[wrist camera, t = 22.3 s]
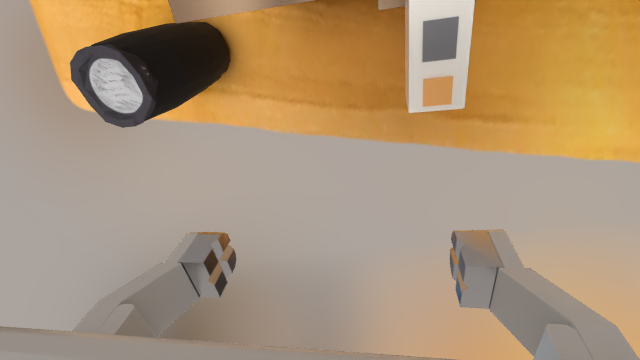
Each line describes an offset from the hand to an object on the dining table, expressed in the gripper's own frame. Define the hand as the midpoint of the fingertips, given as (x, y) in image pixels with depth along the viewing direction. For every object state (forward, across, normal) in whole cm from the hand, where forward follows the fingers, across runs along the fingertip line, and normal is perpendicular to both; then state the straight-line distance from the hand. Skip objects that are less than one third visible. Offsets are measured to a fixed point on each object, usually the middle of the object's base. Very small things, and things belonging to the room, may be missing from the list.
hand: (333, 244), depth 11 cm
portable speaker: (+37, +23, -3) cm, 44 cm away
